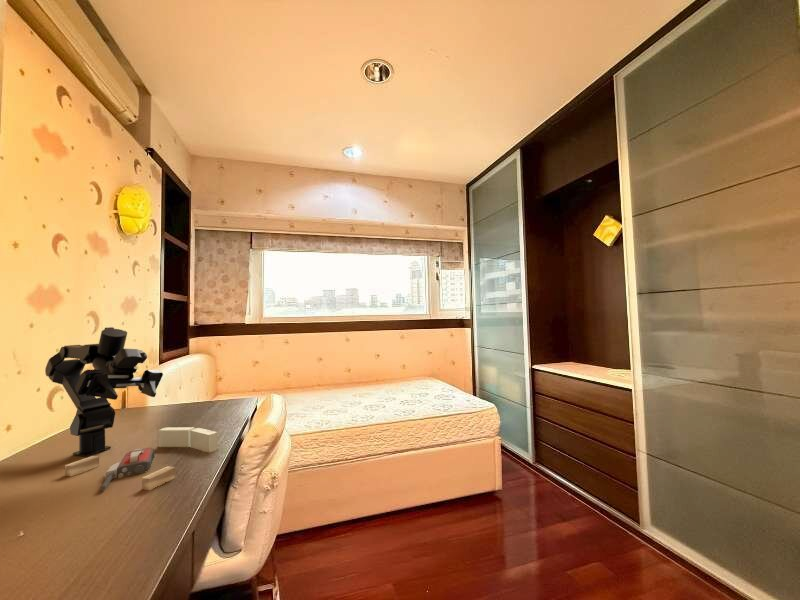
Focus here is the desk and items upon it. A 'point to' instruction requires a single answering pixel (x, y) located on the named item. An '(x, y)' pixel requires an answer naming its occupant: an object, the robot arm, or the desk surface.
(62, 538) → the desk surface
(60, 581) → the desk surface
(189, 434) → the white long angled block
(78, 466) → the guide blocks
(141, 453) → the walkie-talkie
